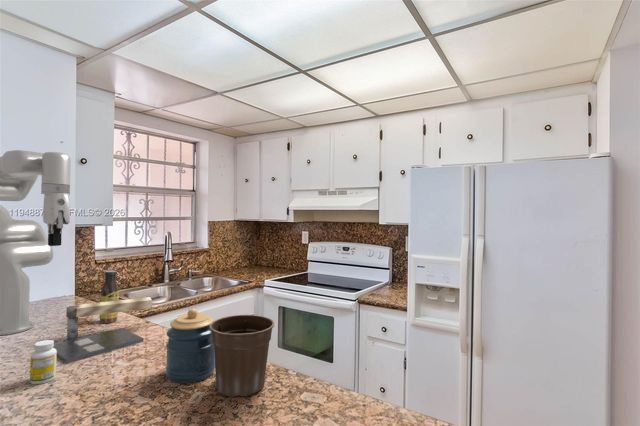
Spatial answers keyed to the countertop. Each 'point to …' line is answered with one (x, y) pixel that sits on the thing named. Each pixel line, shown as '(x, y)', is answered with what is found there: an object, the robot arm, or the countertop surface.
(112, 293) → the bottle
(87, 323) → the countertop surface
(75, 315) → the swing arm
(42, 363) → the supplement bottle
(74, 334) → the label board
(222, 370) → the plant pot
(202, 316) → the canister
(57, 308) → the countertop surface
